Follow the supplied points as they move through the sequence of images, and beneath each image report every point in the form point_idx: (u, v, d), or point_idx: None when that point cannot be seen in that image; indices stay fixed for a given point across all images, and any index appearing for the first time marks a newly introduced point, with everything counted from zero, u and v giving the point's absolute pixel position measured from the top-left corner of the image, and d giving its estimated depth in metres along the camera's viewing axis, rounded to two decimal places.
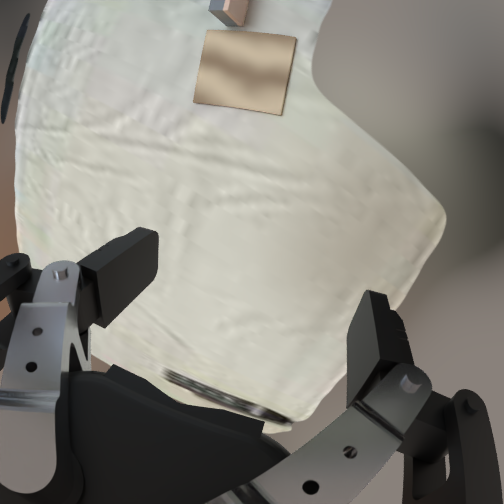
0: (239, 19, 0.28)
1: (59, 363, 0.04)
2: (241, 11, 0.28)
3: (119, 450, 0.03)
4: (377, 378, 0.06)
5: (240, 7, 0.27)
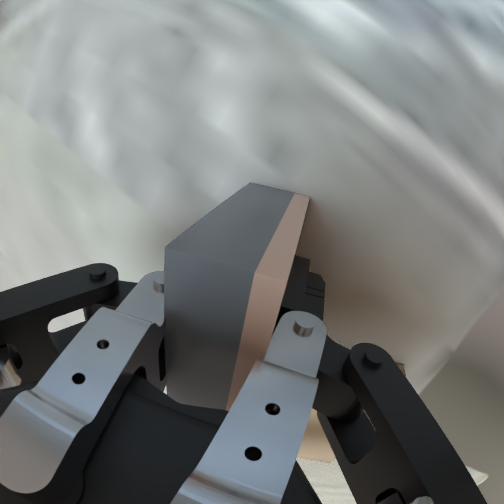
0: None
1: (109, 387, 0.04)
2: None
3: (119, 450, 0.03)
4: None
5: None
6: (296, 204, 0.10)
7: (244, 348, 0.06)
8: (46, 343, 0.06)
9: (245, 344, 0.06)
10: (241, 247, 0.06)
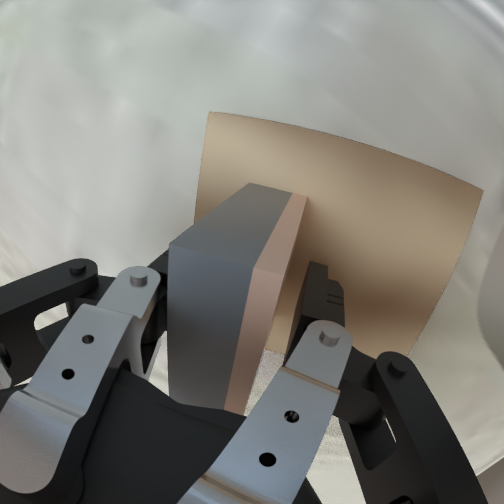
0: None
1: (98, 380, 0.04)
2: (276, 312, 0.12)
3: (118, 450, 0.03)
4: (302, 335, 0.08)
5: None
6: (294, 203, 0.10)
7: (243, 340, 0.06)
8: (33, 339, 0.06)
9: (244, 336, 0.06)
10: (241, 244, 0.06)
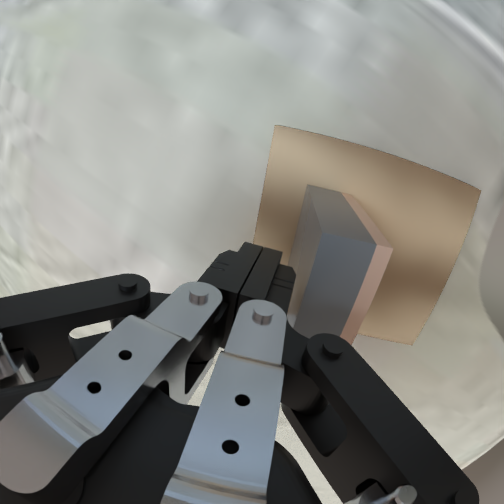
0: None
1: (125, 401, 0.04)
2: None
3: (119, 450, 0.03)
4: None
5: None
6: (351, 201, 0.13)
7: (360, 296, 0.09)
8: (66, 351, 0.06)
9: (362, 293, 0.09)
10: (357, 231, 0.09)
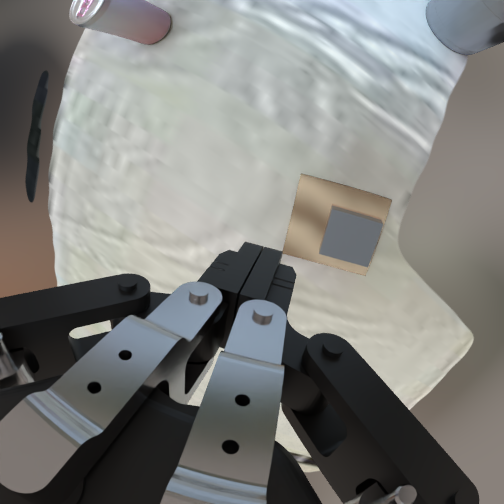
0: None
1: (125, 401, 0.04)
2: None
3: (119, 451, 0.03)
4: None
5: None
6: (343, 208, 0.35)
7: None
8: (66, 351, 0.06)
9: None
10: (375, 218, 0.34)
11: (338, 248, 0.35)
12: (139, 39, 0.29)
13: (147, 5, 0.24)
